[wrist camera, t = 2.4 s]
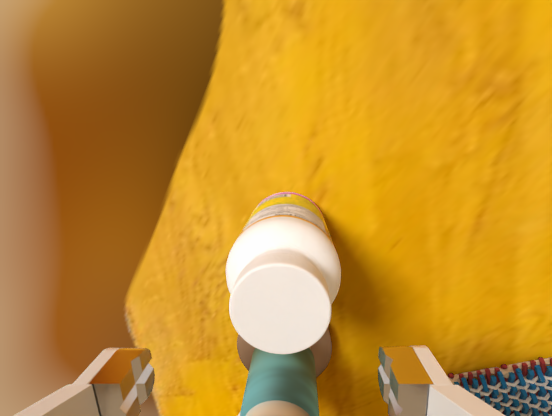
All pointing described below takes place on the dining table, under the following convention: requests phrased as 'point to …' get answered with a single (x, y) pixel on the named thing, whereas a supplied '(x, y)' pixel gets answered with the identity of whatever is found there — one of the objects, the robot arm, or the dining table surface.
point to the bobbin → (283, 379)
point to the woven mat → (512, 387)
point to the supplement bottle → (283, 275)
